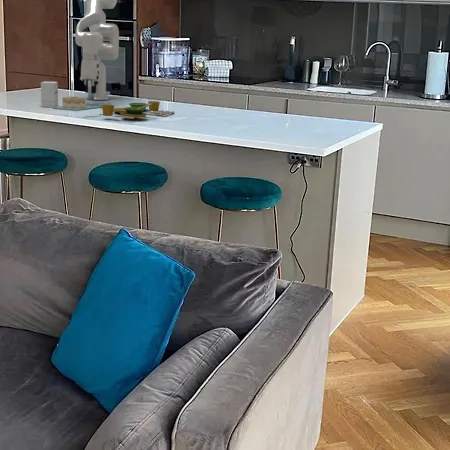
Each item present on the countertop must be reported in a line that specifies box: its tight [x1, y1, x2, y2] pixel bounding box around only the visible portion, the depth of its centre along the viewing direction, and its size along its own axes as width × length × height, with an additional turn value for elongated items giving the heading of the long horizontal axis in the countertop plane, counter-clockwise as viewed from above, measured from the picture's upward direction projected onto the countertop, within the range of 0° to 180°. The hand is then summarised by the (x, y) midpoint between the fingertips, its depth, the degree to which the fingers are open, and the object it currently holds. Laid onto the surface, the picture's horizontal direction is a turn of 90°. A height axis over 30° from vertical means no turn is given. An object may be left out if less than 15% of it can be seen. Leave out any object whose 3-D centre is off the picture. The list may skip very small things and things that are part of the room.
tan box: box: [62, 96, 87, 109], centre depth 375 cm, size 11×11×5 cm
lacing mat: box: [51, 102, 103, 112], centre depth 382 cm, size 30×15×1 cm, turn 153°
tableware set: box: [101, 100, 175, 120], centre depth 367 cm, size 41×28×6 cm
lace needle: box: [87, 79, 95, 101], centre depth 386 cm, size 3×3×12 cm
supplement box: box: [40, 81, 59, 108], centre depth 380 cm, size 7×7×13 cm
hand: (90, 92), depth 387 cm, fingers closed on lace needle, 3 cm apart
